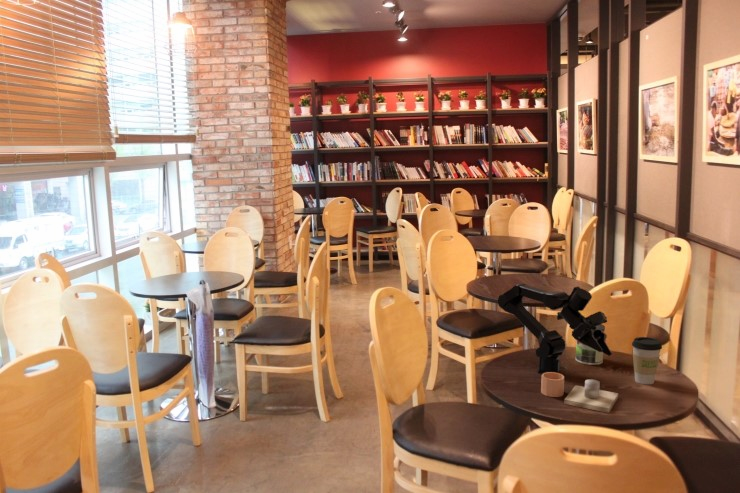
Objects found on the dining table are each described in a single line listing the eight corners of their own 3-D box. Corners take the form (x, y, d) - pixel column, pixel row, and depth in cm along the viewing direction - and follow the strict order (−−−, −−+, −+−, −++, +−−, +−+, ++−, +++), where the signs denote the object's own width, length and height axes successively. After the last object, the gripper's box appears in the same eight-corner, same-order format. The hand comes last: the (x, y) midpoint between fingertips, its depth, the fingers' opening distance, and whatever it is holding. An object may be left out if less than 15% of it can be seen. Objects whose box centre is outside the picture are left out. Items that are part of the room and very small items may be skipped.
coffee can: (582, 365, 244) (584, 330, 242) (571, 356, 254) (572, 322, 252) (608, 364, 245) (610, 328, 243) (595, 355, 256) (597, 321, 253)
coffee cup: (657, 388, 222) (660, 346, 219) (627, 383, 227) (629, 342, 224) (661, 379, 230) (664, 339, 227) (632, 374, 235) (634, 334, 233)
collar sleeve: (538, 394, 218) (539, 377, 217) (545, 387, 224) (545, 370, 223) (559, 398, 214) (560, 381, 213) (565, 391, 220) (566, 374, 219)
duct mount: (564, 403, 210) (565, 384, 209) (575, 389, 222) (576, 371, 221) (608, 412, 203) (609, 393, 202) (618, 397, 214) (619, 379, 213)
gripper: (582, 298, 216) (614, 332, 207) (601, 309, 230) (632, 341, 220) (558, 321, 219) (589, 355, 210) (579, 330, 233) (608, 362, 224)
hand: (606, 353), depth 216 cm, fingers open, 9 cm apart
